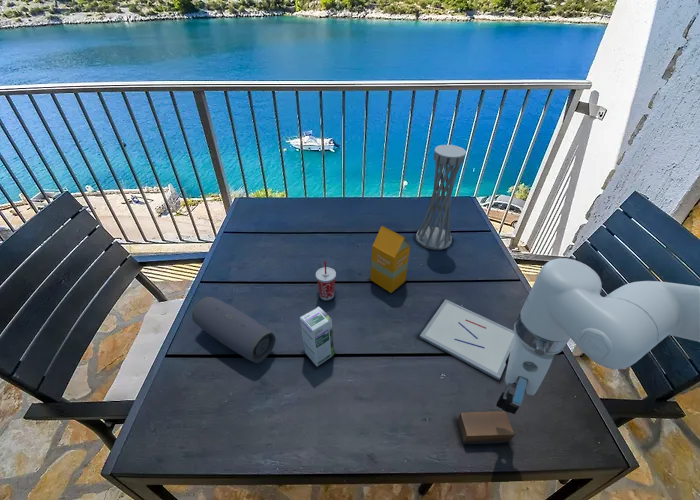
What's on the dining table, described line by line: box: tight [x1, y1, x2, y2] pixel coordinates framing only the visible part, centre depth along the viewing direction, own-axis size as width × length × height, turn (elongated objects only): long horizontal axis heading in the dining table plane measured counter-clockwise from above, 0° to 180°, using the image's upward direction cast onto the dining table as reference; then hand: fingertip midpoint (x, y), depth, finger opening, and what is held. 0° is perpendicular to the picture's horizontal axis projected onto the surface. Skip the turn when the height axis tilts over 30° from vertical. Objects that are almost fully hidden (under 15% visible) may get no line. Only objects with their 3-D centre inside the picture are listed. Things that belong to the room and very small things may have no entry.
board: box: [419, 299, 516, 381], centre depth 96 cm, size 22×17×1 cm
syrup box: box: [299, 306, 335, 367], centre depth 88 cm, size 6×6×14 cm
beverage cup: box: [315, 260, 337, 301], centre depth 105 cm, size 6×6×14 cm
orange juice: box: [370, 225, 411, 294], centre depth 108 cm, size 8×9×20 cm
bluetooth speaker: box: [191, 296, 276, 364], centre depth 93 cm, size 23×9×10 cm, turn 57°
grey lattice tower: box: [415, 144, 467, 250], centre depth 122 cm, size 14×13×35 cm
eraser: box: [456, 410, 515, 445], centre depth 75 cm, size 5×10×4 cm, turn 92°
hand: (509, 386), depth 65 cm, fingers open, 9 cm apart
